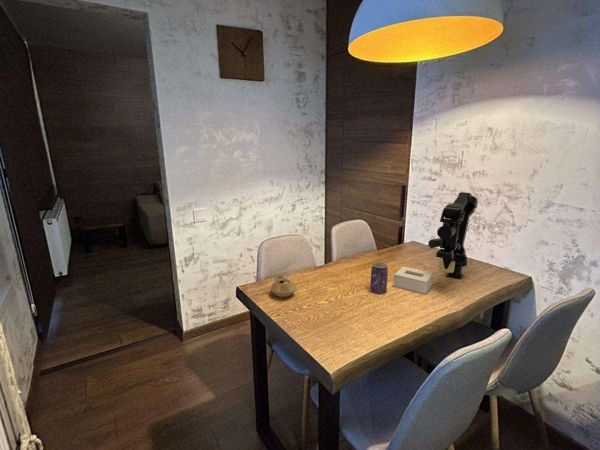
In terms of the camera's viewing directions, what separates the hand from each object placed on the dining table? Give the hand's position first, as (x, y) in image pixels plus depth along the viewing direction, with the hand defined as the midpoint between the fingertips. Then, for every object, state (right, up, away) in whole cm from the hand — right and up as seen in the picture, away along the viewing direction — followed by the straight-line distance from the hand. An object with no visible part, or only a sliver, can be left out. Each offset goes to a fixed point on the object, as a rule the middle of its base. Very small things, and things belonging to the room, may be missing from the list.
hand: (446, 268), depth 144 cm
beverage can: (-31, -10, -1) cm, 32 cm away
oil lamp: (-73, -11, -3) cm, 74 cm away
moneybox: (-14, -9, +4) cm, 17 cm away
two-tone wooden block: (0, -1, 0) cm, 1 cm away
